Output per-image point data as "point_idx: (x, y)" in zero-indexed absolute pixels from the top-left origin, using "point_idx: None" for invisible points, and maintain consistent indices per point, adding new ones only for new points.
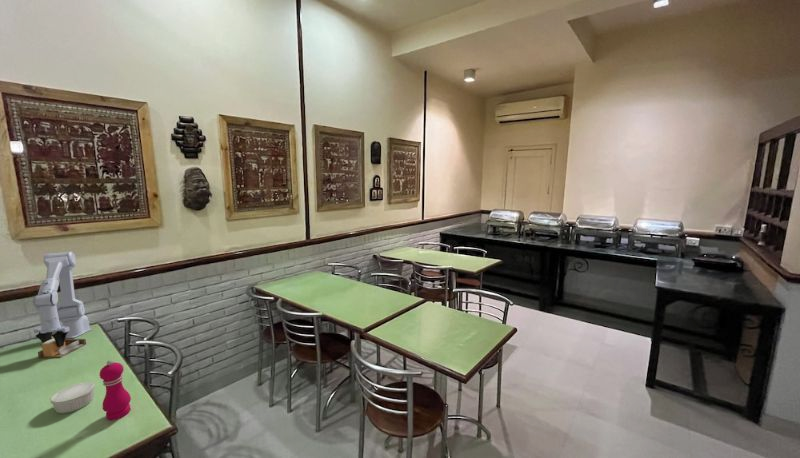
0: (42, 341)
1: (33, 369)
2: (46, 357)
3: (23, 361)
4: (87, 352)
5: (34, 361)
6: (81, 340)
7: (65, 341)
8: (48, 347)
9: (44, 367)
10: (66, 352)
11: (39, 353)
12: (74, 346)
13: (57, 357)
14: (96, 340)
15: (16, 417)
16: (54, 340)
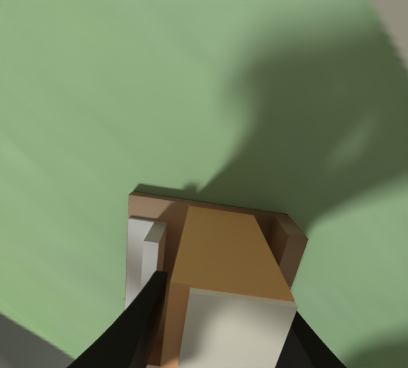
0: (326, 356)
1: (184, 31)
2: (233, 207)
3: (361, 183)
4: (15, 231)
5: (280, 169)
6: None
7: None
8: (206, 254)
9: (120, 52)
10: (132, 240)
11: (289, 230)
12: None
13: (154, 195)
14: None
15: None
16: (195, 357)
